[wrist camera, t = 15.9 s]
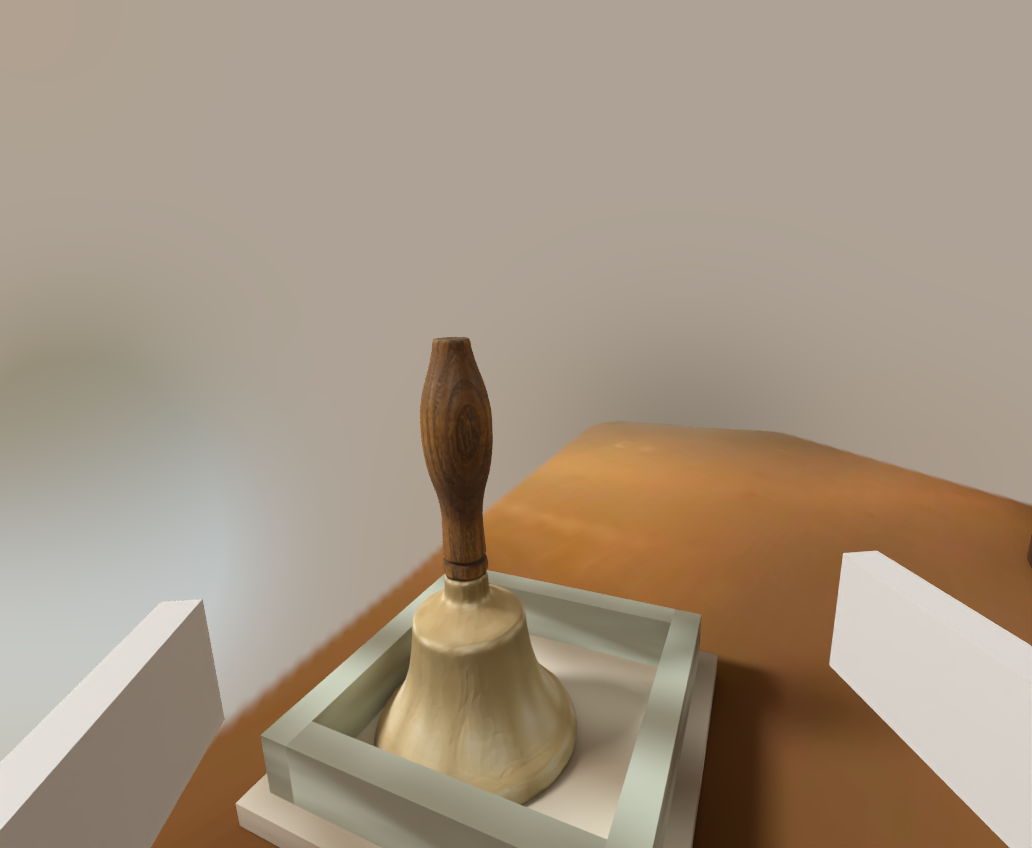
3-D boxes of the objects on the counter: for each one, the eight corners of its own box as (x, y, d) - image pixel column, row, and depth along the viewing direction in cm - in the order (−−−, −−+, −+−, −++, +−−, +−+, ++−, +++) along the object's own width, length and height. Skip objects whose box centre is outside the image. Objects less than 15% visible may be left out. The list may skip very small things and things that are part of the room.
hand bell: (329, 756, 21) (272, 347, 17) (457, 639, 28) (437, 328, 24) (508, 867, 17) (486, 357, 13) (608, 696, 24) (613, 330, 20)
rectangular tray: (454, 607, 33) (451, 555, 32) (716, 672, 26) (720, 609, 26) (239, 825, 19) (225, 744, 19) (663, 1057, 13) (668, 951, 12)
